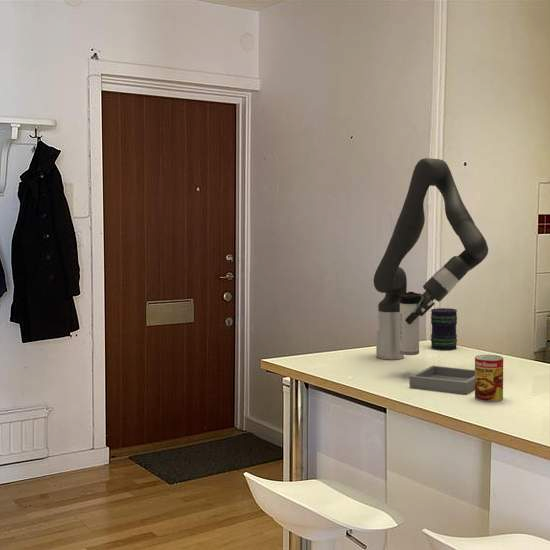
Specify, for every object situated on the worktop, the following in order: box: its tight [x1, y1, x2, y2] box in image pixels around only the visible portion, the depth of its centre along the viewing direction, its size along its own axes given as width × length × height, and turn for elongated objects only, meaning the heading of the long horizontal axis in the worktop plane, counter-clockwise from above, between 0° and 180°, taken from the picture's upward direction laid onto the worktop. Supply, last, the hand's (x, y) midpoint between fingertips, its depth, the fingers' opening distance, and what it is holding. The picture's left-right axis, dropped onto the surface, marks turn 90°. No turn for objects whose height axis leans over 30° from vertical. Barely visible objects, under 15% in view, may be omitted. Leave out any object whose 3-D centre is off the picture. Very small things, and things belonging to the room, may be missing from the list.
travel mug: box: [400, 291, 420, 356], centre depth 259 cm, size 6×7×20 cm
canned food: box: [474, 354, 504, 403], centre depth 228 cm, size 8×8×12 cm
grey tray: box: [409, 365, 475, 395], centre depth 245 cm, size 18×18×4 cm
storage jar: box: [430, 307, 458, 352], centre depth 305 cm, size 10×10×15 cm
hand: (404, 320), depth 258 cm, fingers closed on travel mug, 6 cm apart
